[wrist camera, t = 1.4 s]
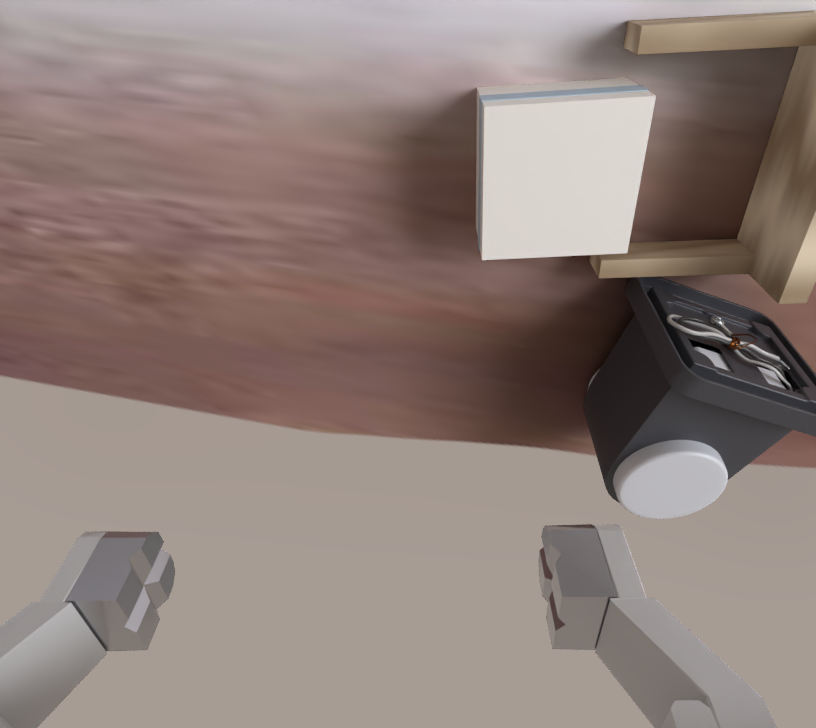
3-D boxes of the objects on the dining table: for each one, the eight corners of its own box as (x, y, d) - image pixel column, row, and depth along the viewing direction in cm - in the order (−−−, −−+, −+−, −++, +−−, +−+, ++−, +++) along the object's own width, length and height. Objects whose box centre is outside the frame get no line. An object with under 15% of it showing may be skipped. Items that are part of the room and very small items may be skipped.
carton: (475, 85, 31) (483, 105, 26) (626, 75, 30) (657, 94, 26) (474, 225, 35) (481, 260, 31) (604, 219, 35) (628, 254, 31)
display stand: (627, 20, 28) (668, 35, 24) (841, 9, 28) (928, 21, 23) (589, 261, 36) (614, 308, 31) (755, 255, 36) (806, 302, 31)
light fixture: (541, 395, 44) (565, 511, 36) (637, 256, 36) (697, 363, 28) (660, 430, 46) (710, 548, 38) (777, 305, 38) (873, 419, 29)
